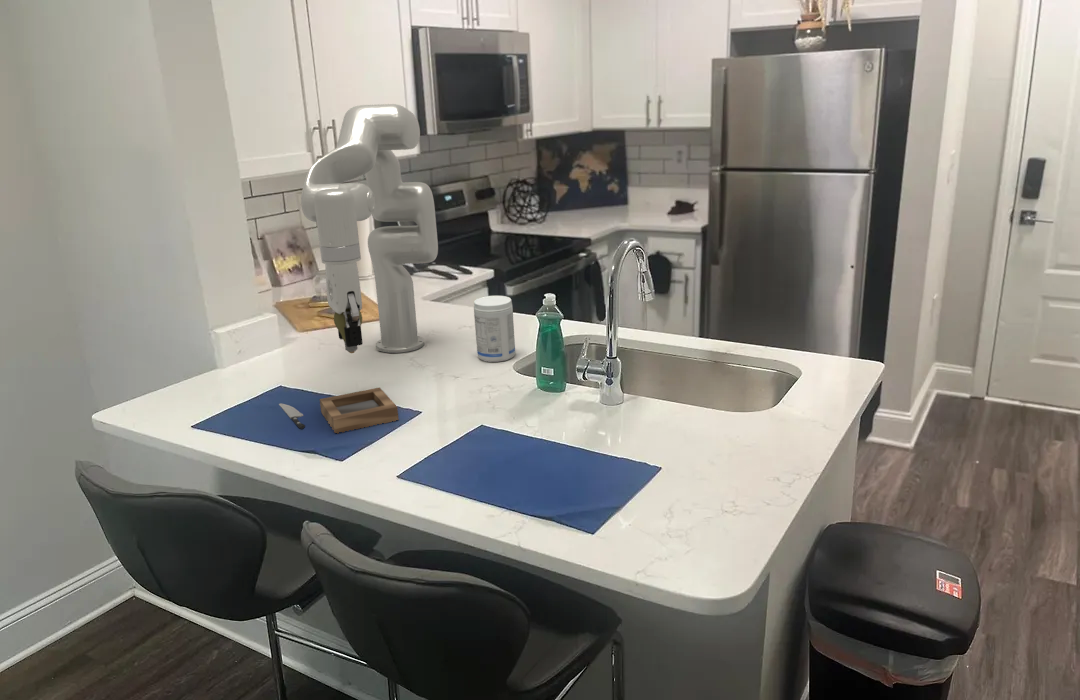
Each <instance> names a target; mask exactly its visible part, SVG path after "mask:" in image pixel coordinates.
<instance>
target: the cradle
mask: <svg viewBox="0 0 1080 700" xmlns="http://www.w3.org/2000/svg"><path fill="white" fill-rule="evenodd" d="M319 407H320V412H321V414H322V416H323V417H324V419H325V421H326V422H327V421H328V422H327V424H328V425H329V424H330V425H329V426H330V427H332V428H331V430H332V431H333V430H334V431H333V432H334V434H335V433H337V434H340V433H339V432H342V433H346V432H345V431H347V432H350V431H349V430H351V431H355V430H354V429H356V430H360V428H361V429H364V427H365V428H369V426H370V427H374V426H373V425H375V426H378V425H377V424H379V425H382V423H384V424H388V423H391V422H392V421H393V422H397V421H396V420H398V421H399V420H400V419H399V409H398V405H397V404H395V403H394V401H393V400H392V399H391V398H390V397H389V396H388V395H387V394H386V393H385V392H384V390H383V389H382V388H381V387H376V388H375V387H374V388H370V389H365V390H360V391H354V392H350V393H344V394H340V395H339V394H338V395H334V396H328V397H323V398H320V399H319ZM393 422H392V423H393Z"/></svg>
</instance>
